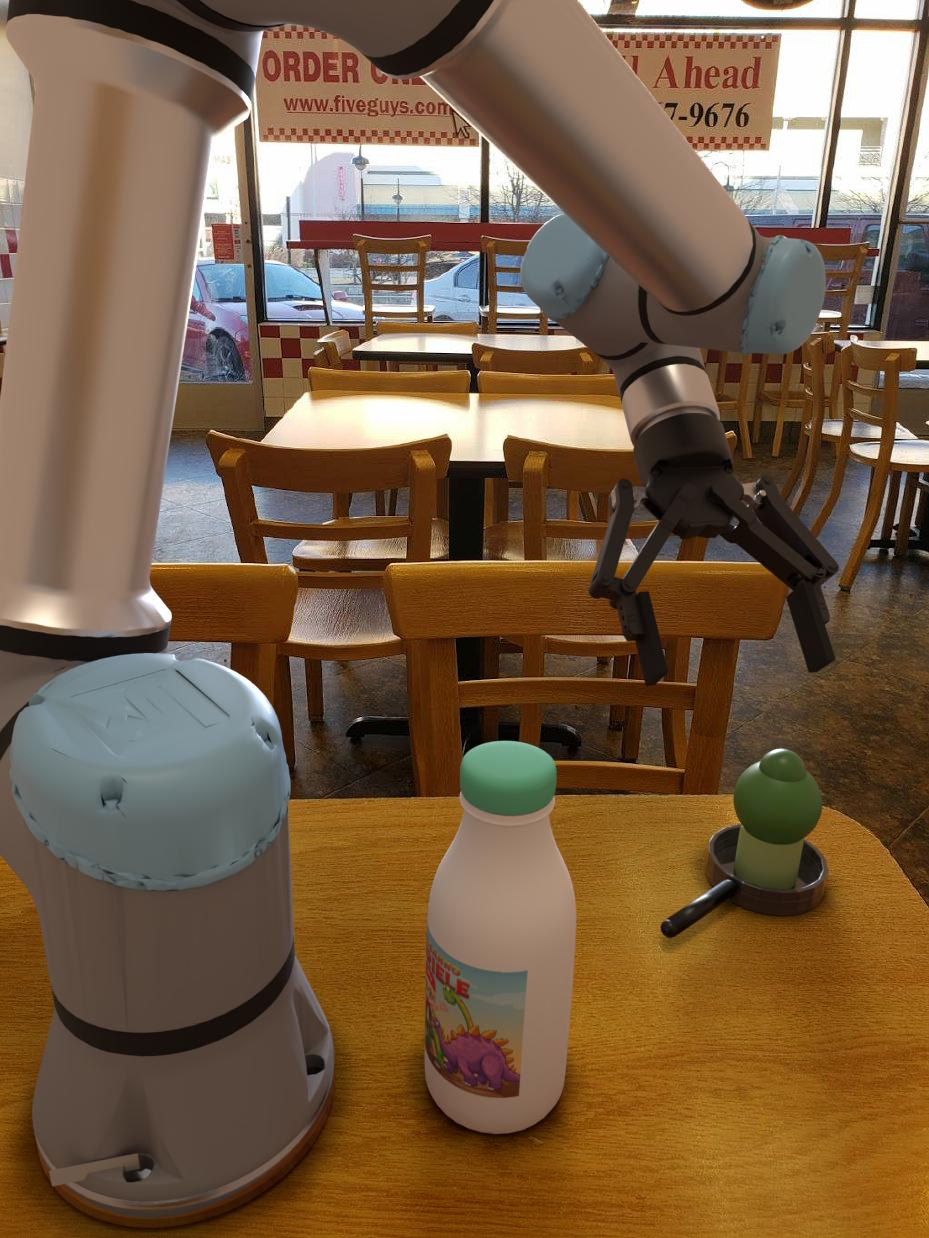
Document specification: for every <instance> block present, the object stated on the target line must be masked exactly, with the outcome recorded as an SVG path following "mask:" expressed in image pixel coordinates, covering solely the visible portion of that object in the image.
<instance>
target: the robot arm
mask: <svg viewBox="0 0 929 1238" xmlns="http://www.w3.org/2000/svg"><path fill="white" fill-rule="evenodd" d="M285 25H295V26H301V27H307V28H311V29H316V30H319V31H322V32H323V33H326V34H328V35H331V36H333V37H335V38H338V39H340V40H341V41H343V42H345V43H347V44H348V45H350V46H351V47H353V48H354V49H355V50H356V51H358V52H359V53H360V54H361V55H362V56H364V58H365V59H367V60H368V61H369V63H371V64H372V65H373V66H374V67H375V68H376V69H378V70H379V71H380V72H381V73H382V74H384V75H385V76H387V77H388V78H391V79H395V80H403V81H404V80H411V79H412V80H413V79H416V78H420V79H421V80H422V81H423V82H425V84H427V85H428V86H429V87H430V88H431V89H432V90H433V91H434V92H435V93H436V94H437V95H438V96H439V97H440V98H441V99H442V100H444V102H446V103H447V104H448V105H449V106H450V107H451V108H452V109H453V110H454V111H455V112H456V113H457V114H458V115H459V116H460V117H461V118H463V119H464V120H465V121H466V123H468V124H469V125H470V126H471V127H472V128H473V129H474V130H475V131H476V132H477V133H478V134H479V135H480V136H482V137H483V139H485V140H486V141H487V142H488V143H489V144H490V145H491V146H492V147H493V148H494V149H495V150H496V151H497V152H499V154H501V155H502V156H503V158H504V159H506V160H507V161H508V162H509V164H511V165H512V166H513V167H514V168H515V169H517V171H518V172H520V174H521V175H523V176H524V177H525V178H526V179H527V180H528V181H529V182H530V183H531V184H532V185H533V186H535V188H536V189H537V190H538V191H540V192H541V193H542V194H543V196H544V197H546V198H547V199H548V200H549V201H550V202H551V203H552V204H553V205H554V206H555V207H557V208H558V209H559V211H560V212H562V213H560V214H558V215H556V216H554V217H552V218H551V219H549V220H548V221H546V222H545V223H544V224H543V225H542V226H541V227H540V228H539V229H538V230H537V231H536V232H535V234H534V235H533V236H532V237H531V239H530V241H529V242H528V245H527V247H526V251H525V253H524V254H523V258H522V260H521V263H520V271H519V272H520V283H521V286H522V289H523V291H524V293H525V295H526V296H527V298H529V300H530V301H531V302H533V303H534V304H535V305H536V306H537V307H538V308H539V309H540V310H541V311H542V312H543V315H544V316H545V318H547V319H548V320H550V321H552V322H555V323H556V324H557V325H559V327H561V328H562V329H564V330H565V331H566V332H568V333H569V334H570V335H571V336H573V337H574V338H575V339H576V340H578V341H579V342H580V343H581V344H583V345H584V346H585V347H587V348H588V349H589V350H590V351H591V352H592V353H593V354H595V355H596V356H597V357H598V358H599V359H601V360H602V361H603V362H604V363H605V364H607V366H609V367H610V369H611V371H612V374H613V376H614V380H615V384H616V387H617V391H618V396H619V399H620V403H621V407H622V411H623V414H624V419H625V423H626V427H627V431H628V435H629V439H630V442H631V445H632V446H633V448H632V449H633V451H632V452H633V456H634V460H635V464H636V469H637V474H638V476H639V480H640V484H641V485H642V486H639V485H638V486H637V485H633V483H632V481H630V479H628V478H621V479H619V480H618V481H617V483H616V485H614V487H613V489H612V491H611V492H610V494H609V496H608V499H607V502H608V503H607V504H608V513H609V520H608V524H607V526H606V531H605V534H604V537H603V540H602V544H601V547H600V551H599V555H598V557H597V560H596V564H595V566H594V570H593V573H592V576H591V580H590V583H589V587H588V594H589V596H590V597H591V598H593V599H596V600H599V599H602V598H603V599H607V600H608V604H609V606H610V607H611V608H612V609H614V610H617V614H618V619H619V623H620V627H621V633H622V636H623V638H624V639H625V641H626V642H634V643H635V646H636V651H637V654H638V659H639V663H640V668H641V673H642V676H643V680H644V686H645V687H650V686H656V685H657V684H658V683H659V682H660V681H661V680H662V679H663V678H664V677H666V675H667V674H669V670H668V666H667V661H666V657H665V653H664V649H663V644H662V640H661V635H660V631H659V628H658V623H657V619H656V615H655V611H654V607H653V603H652V598H651V594H650V591H649V590H645V591H641V590H640V591H639V592H637V590H638V588H639V586H640V585H641V583H642V581H643V580H644V578H645V577H646V575H647V573H648V572H649V570H650V568H651V566H652V565H653V563H654V562H655V560H656V558H657V557H658V555H659V554H660V552H661V550H662V549H663V547H664V545H665V544H666V542H667V541H668V539H669V538H670V535H672V534H673V535H674V536H677V537H679V540H690V539H693V538H697V537H700V538H705V539H716V538H717V537H718V535H719V536H720V537H721V538H723V540H725V541H726V542H727V543H729V544H735V545H737V546H738V547H740V548H741V549H742V550H743V551H744V552H745V553H747V554H748V555H749V556H750V557H752V558H753V559H754V560H755V561H756V562H758V563H759V564H760V565H761V566H763V567H764V568H765V569H766V570H767V571H768V572H770V573H771V574H772V575H774V577H776V578H777V579H778V580H779V581H780V582H782V583H783V584H784V585H785V586H787V588H789V589H790V590H791V592H790V593H789V594H787V595H786V596H785V598H786V602H787V606H788V609H789V612H790V615H791V618H792V622H793V625H794V628H795V632H796V635H797V638H798V642H799V646H800V648H801V651H802V652H801V653H802V655H803V658H804V661H805V665H806V668H807V671H808V673H809V674H811V673H818V672H820V671H822V670H823V669H824V668H825V667H827V666H829V665H830V664H831V663H833V662H834V661H836V660H837V658H836V656H835V652H834V648H833V646H832V642H831V640H830V639H831V638H830V636H829V632H828V630H827V627H826V625H827V624H828V623H830V621H831V615H830V611H829V609H828V604H827V602H826V599H825V595H824V593H823V589H822V586H823V585H824V584H825V583H826V582H827V581H828V580H830V579H831V578H832V577H833V576H834V575H835V574H837V573H838V572H839V570H840V566H839V565H840V564H838V562H837V561H836V559H835V558H834V557H832V555H831V554H830V552H829V551H828V550H827V549H826V548H825V547H824V546H823V545H822V543H821V542H820V541H819V540H818V539H817V537H816V536H815V535H814V534H813V533H812V531H810V529H809V528H808V527H807V525H806V524H804V522H803V521H802V519H801V518H799V516H798V515H797V514H796V512H794V510H793V509H792V508H791V507H790V506H789V504H788V503H786V501H785V499H784V498H782V495H781V494H780V490H779V489H778V486H777V484H776V482H775V480H774V478H773V477H772V476H771V475H769V474H763V475H761V476H760V478H759V479H758V480H757V481H751V482H747V483H741V481H740V480H739V479H738V477H737V476H736V475H735V473H734V468H733V456H732V451H731V448H730V445H729V442H728V439H727V435H726V432H725V428H724V425H723V423H722V422H721V413H720V409H719V407H718V403H717V400H716V397H715V394H714V391H713V388H712V385H711V381H710V378H709V375H708V371H707V369H706V366H705V363H704V358H703V355H702V352H701V349H703V350H713V351H719V352H720V351H721V352H722V351H723V352H730V353H737V354H742V355H745V356H751V354H764V355H765V354H767V355H786V354H789V353H792V352H795V351H796V350H798V349H799V348H800V347H801V346H803V345H804V344H805V343H806V341H808V339H809V338H810V336H811V335H812V334H813V331H814V330H815V328H816V326H817V322H818V320H819V318H820V314H821V312H822V309H823V305H824V302H825V296H826V288H827V287H826V286H827V275H826V266H825V262H824V258H823V256H822V253H821V252H820V250H819V249H818V247H817V246H816V245H815V244H814V243H812V242H810V241H808V240H806V239H802V238H791V237H790V238H789V237H786V236H785V235H783V234H782V235H781V234H780V235H776V236H774V237H765V236H763V235H761V234H760V233H759V232H758V230H757V228H755V226H754V225H753V224H752V222H751V221H750V220H748V217H747V216H746V215H745V213H744V212H743V211H742V209H741V208H740V207H739V205H738V204H737V203H736V201H734V199H733V198H732V196H731V195H730V194H729V193H728V191H727V190H726V189H725V188H724V186H723V185H722V184H721V182H720V181H719V179H717V177H716V175H714V173H713V172H712V171H711V169H710V168H709V167H708V165H707V164H706V162H705V161H704V160H703V159H702V158H701V156H700V155H699V154H698V153H697V151H696V150H695V148H694V147H693V146H692V144H690V142H689V141H688V140H687V138H686V137H685V136H684V135H683V133H682V132H681V131H680V129H679V128H678V126H676V123H674V122H673V120H672V119H671V118H670V116H669V115H668V113H666V111H665V110H664V109H663V107H662V106H661V105H660V104H659V102H658V101H657V99H655V97H654V95H652V93H651V92H650V91H649V89H648V88H647V86H646V85H645V84H644V83H643V81H642V80H641V79H640V77H639V76H638V75H637V73H635V71H634V70H633V69H632V67H631V66H630V64H629V63H628V62H627V60H626V59H625V58H624V57H623V56H622V55H621V53H620V52H619V50H618V49H617V48H616V47H615V45H614V44H613V43H612V42H611V40H610V39H609V38H608V36H607V35H606V34H605V33H604V31H603V29H602V28H601V27H600V26H599V25H598V23H597V22H596V21H595V19H594V18H593V17H592V16H591V14H590V13H589V12H588V11H587V9H586V7H584V5H583V4H582V3H581V2H580V0H8V8H7V16H6V25H5V37H6V39H7V42H8V44H9V45H10V46H11V48H12V50H13V51H14V53H15V54H16V56H17V57H18V58H19V60H20V61H21V63H22V64H23V65H24V68H26V70H27V71H28V73H29V74H30V77H31V78H32V79H33V84H34V88H35V90H34V99H33V108H32V117H31V126H30V135H29V143H28V152H27V160H26V169H25V179H24V187H23V196H22V204H21V212H20V221H19V222H20V223H19V228H18V229H19V230H18V238H17V247H16V257H15V263H14V264H15V265H14V275H13V284H12V292H11V301H10V308H9V317H8V318H9V319H8V326H7V335H6V343H5V344H6V345H5V354H4V362H3V368H2V369H3V370H2V379H1V389H0V857H1V858H2V859H3V860H4V862H5V863H6V864H7V865H8V867H9V868H10V869H11V870H12V872H13V873H14V874H15V875H16V876H17V878H18V879H19V880H20V882H21V883H22V884H23V885H24V886H25V888H26V889H27V891H28V893H29V894H30V896H31V899H32V901H33V904H34V907H35V910H36V912H37V916H38V920H39V926H40V931H41V937H42V944H43V947H44V954H45V959H46V966H47V972H48V977H49V983H50V988H51V993H52V999H53V1007H54V1009H53V1012H52V1016H51V1021H50V1024H49V1028H48V1032H47V1037H46V1041H45V1045H44V1050H43V1053H42V1057H41V1062H40V1066H39V1070H38V1074H37V1078H36V1083H35V1086H34V1094H33V1097H32V1106H31V1107H32V1109H31V1110H32V1111H31V1117H32V1128H33V1133H34V1138H35V1143H36V1149H37V1153H38V1157H39V1161H40V1164H41V1166H42V1169H43V1172H44V1174H45V1176H46V1178H47V1179H48V1181H49V1183H50V1184H51V1187H53V1188H54V1190H56V1192H57V1193H58V1194H59V1195H60V1196H61V1197H62V1198H63V1199H64V1200H65V1201H66V1202H67V1203H69V1204H70V1205H72V1206H73V1207H75V1208H76V1209H77V1210H79V1211H81V1212H82V1213H84V1214H86V1215H88V1216H89V1217H92V1218H95V1219H98V1220H100V1221H103V1222H106V1223H110V1224H115V1225H118V1226H123V1227H125V1226H126V1227H129V1228H130V1227H131V1228H146V1229H154V1228H171V1227H178V1226H183V1225H189V1224H193V1223H197V1222H201V1221H205V1220H208V1219H211V1218H214V1217H217V1216H220V1215H222V1214H225V1213H227V1212H229V1211H232V1210H234V1209H236V1208H238V1207H240V1206H242V1205H244V1204H246V1203H247V1202H251V1200H253V1199H254V1198H256V1197H258V1196H259V1195H261V1194H263V1193H264V1192H266V1191H267V1190H269V1189H270V1188H271V1187H272V1186H274V1185H275V1184H276V1183H278V1182H279V1181H280V1180H281V1179H282V1178H283V1177H285V1176H286V1175H287V1174H288V1173H289V1172H290V1171H291V1170H292V1169H294V1168H295V1166H296V1165H297V1164H298V1163H299V1162H300V1161H301V1160H302V1159H303V1157H304V1156H305V1155H306V1154H307V1152H308V1151H309V1150H310V1149H311V1147H312V1146H313V1144H314V1143H315V1141H316V1140H317V1138H318V1136H319V1135H320V1133H321V1131H322V1130H323V1127H325V1126H324V1125H325V1123H326V1121H327V1118H328V1117H329V1114H330V1111H331V1107H332V1104H333V1099H334V1094H335V1091H336V1090H335V1089H336V1088H335V1087H336V1063H335V1062H336V1061H335V1059H336V1058H335V1056H336V1055H335V1043H334V1038H333V1033H332V1030H331V1027H330V1024H329V1022H328V1020H327V1017H326V1015H325V1013H324V1011H323V1009H322V1007H321V1003H319V1000H318V998H317V996H316V994H315V992H314V990H313V988H312V986H311V983H310V982H309V979H308V978H307V976H306V974H305V972H304V970H303V968H302V965H301V964H300V962H299V960H298V958H297V955H296V947H295V925H294V924H295V923H294V906H293V905H294V904H293V881H292V880H293V879H292V863H291V862H292V860H291V840H290V839H291V838H290V820H289V819H290V818H289V817H290V816H289V802H290V797H291V789H292V786H291V785H292V784H291V783H292V782H291V777H290V769H289V765H288V763H287V755H286V751H285V748H284V743H283V735H282V729H281V725H280V722H279V718H278V715H277V713H276V711H275V709H274V707H273V705H272V704H271V702H270V701H269V699H268V698H267V697H266V695H265V694H264V693H263V692H262V691H261V690H260V689H259V688H258V687H257V686H256V685H255V684H254V683H252V681H250V680H249V679H248V678H246V677H245V676H243V675H242V674H239V673H238V672H237V671H235V670H233V669H231V668H229V667H227V666H224V665H222V664H219V663H216V662H212V661H210V660H206V659H203V658H200V657H199V658H198V657H193V658H192V659H189V660H183V661H182V660H179V659H178V656H176V655H175V654H173V653H167V652H168V646H169V638H170V632H171V625H172V612H171V610H170V609H169V608H168V607H167V605H166V604H165V603H164V601H163V600H162V599H161V598H160V596H159V595H158V594H157V593H156V591H155V590H154V589H153V587H152V585H151V580H150V576H151V570H152V563H153V556H154V550H155V543H156V536H157V530H158V524H159V516H160V510H161V502H162V498H163V497H162V496H163V490H164V482H165V477H166V469H167V463H168V457H169V451H170V442H171V436H172V430H173V423H174V417H175V411H176V410H175V408H176V404H177V397H178V390H179V385H180V384H179V383H180V376H181V370H182V363H183V357H184V351H185V344H186V337H187V330H188V324H189V317H190V309H191V303H192V296H193V289H194V283H195V276H196V269H197V263H198V257H199V249H200V243H201V237H202V229H203V223H204V217H205V216H204V215H205V210H206V202H207V197H208V189H209V183H210V176H211V170H212V163H213V156H214V151H215V143H216V142H217V140H218V139H219V138H220V137H221V136H223V135H224V134H226V133H227V132H229V131H231V130H232V129H233V128H235V127H237V126H238V125H240V124H241V123H242V122H244V121H246V120H247V119H248V118H249V116H250V113H251V109H252V103H253V98H254V97H253V96H254V91H255V84H256V78H257V77H256V76H257V71H258V65H259V58H260V52H261V45H262V39H263V35H264V31H268V30H272V29H274V28H279V27H282V26H285ZM742 501H743V502H742ZM744 502H745V503H746V504H745V503H744ZM641 504H642V506H643V507H644V509H646V510H647V511H648V512H649V513H650V514H651V515H652V516H653V517H654V518H655V519H656V520H657V522H656V524H655V526H654V528H652V530H651V532H650V533H649V535H648V537H647V538H646V540H645V542H644V544H643V545H642V547H641V549H640V550H639V552H638V553H637V555H636V557H635V558H634V560H633V561H632V563H631V564H630V566H629V568H628V569H627V571H626V573H625V574H624V575H623V577H622V578H620V577H618V576H617V577H616V573H617V570H618V566H619V562H620V558H621V555H622V552H623V548H624V545H625V542H626V538H627V535H628V532H629V527H630V524H631V521H632V517H633V514H634V513H635V512H636V511H637V510H638V508H639V506H641ZM734 518H735V519H736V520H737V521H738V524H737V525H736V526H734V525H733V524H731V523H732V522H733V521H734Z"/></svg>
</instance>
